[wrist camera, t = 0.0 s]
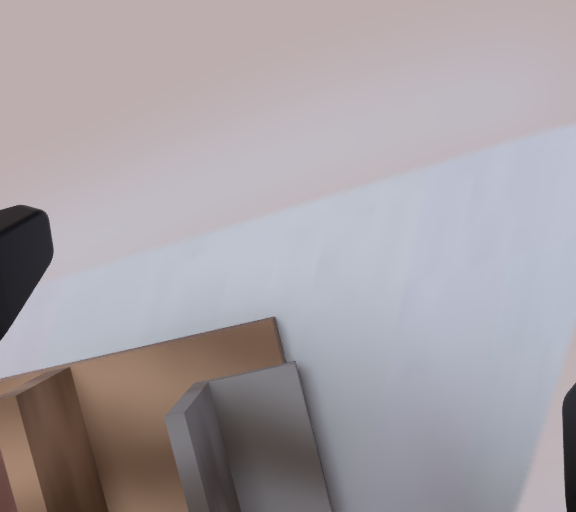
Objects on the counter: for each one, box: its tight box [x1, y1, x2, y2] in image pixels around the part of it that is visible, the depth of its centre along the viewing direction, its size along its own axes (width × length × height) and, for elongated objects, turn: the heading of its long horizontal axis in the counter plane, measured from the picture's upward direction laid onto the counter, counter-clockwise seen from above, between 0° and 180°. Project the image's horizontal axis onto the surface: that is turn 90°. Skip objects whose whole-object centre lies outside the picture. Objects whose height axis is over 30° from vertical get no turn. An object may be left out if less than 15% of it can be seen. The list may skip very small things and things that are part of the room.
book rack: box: [0, 317, 332, 512], centre depth 22 cm, size 12×15×5 cm
